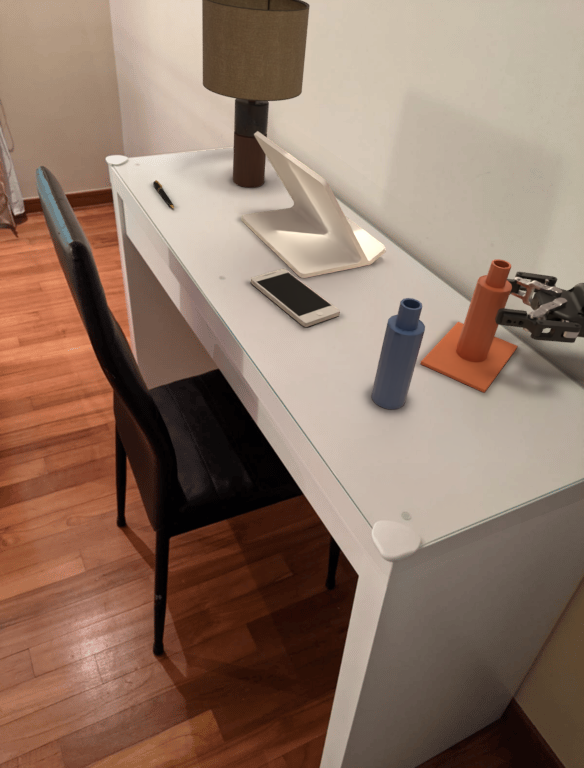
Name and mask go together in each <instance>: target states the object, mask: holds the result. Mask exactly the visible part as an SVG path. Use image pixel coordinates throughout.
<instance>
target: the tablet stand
mask: <svg viewBox="0 0 584 768" xmlns="http://www.w3.org/2000/svg"><path fill="white" fill-rule="evenodd" d="M254 136H255V138H256V139H257V141H258V143H259V144H260V146H261V148H262V149H263V151H264V153H265V154H266V159H268V162H269V163H270V165H271V166H272V168H273V169H274V172H275V173H276V174H277V177H278V178H279V180H280V181H281V183H282V184H283V186H284V188H285V190H286V192H287V193H288V195H289V197H290V198H291V200H292V201H293V205H292V207H287V208H280V209H279V208H278V209H273V210H266V211H259V212H252V213H244V214H241V218H240V219H241V222H242V223H243V224H245V226H246V227H248V229H250V231H252V232H253V233H254V234H255V235H256V236H257V237H258V238H259V239H260V240H261V241H262V242H263V243H264V244H265V245H266V246H267V247H268V248H269V249H271V251H272V252H273V253H274V254H275V255H277V257H278V258H280V259H281V261H283V263H285V264H286V265H287V266H288V267H289V268H290V269H291V270H292V271H293V272H294V273H295V274H296V275H297V276H298V277H300V278H301V279H307V278H312V277H316V276H323V275H327V274H331V273H332V274H333V273H336V272H342V271H346V270H351V269H356V268H360V267H366V266H370V265H372V264H373V263H375V262H376V261H377V260H378V259H379V258H380V257H382V256H383V255H384V254H385V253H386V252H387V249H386V247H385V244H383V243H382V242H380V241H379V240H378V239H377V238H375V237H374V236H373V235H371V234H370V233H369V232H367V230H365V229H364V228H362V227H360V226H359V225H358V224H357V223H356V222H355V221H353V220H352V219H350V218H349V217H347V216H346V215H345V213H344V211H343V209H342V207H341V206H340V204H339V201H338V200H337V198H336V196H335V194H334V192H333V190H332V188H331V187H330V184H329V182H328V181H327V179H325V178H324V177H323V176H321V175H320V174H318V173H317V172H316V171H314V170H313V169H311V168H310V167H308V166H307V165H306V164H304V163H303V162H301V160H299V159H297V158H296V157H295V156H294V155H292V154H291V153H289V152H288V151H286V150H285V149H283V148H282V147H281V146H279V145H278V144H276V142H274V141H272V139H269V138H268V136H267V137H265V136H264V135H262V134H261V133H260V132H258V131H257V132H256V133H255V134H254Z"/></svg>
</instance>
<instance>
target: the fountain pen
mask: <svg viewBox="0 0 584 768" xmlns="http://www.w3.org/2000/svg"><path fill="white" fill-rule="evenodd" d="M152 183H153V187H154V189H155V190H156V191H157V192H158V194H159V195H160V196H161V197H162V199H163V200H164V202H166V203H167V205H168V206H169V207H170V208H171V209H175V206H174V204H173V202H172V200H171V199H170V197H169V195H168V193H166V191H165V190H164V188H163V185H162V184H161V183H160V181H158V180H157V179H155V180H154V181H153V182H152Z"/></svg>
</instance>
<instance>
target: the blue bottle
mask: <svg viewBox="0 0 584 768" xmlns="http://www.w3.org/2000/svg"><path fill="white" fill-rule="evenodd" d="M399 302H400V303H399V307H398V311H397V314H394V315H391V316H390V317H389V318H388V319H387V323H386V327H385V332H384V336H383V341H382V344H381V349H380V355H379V359H378V363H377V368H376V372H375V377H374V382H373V386H372V389H371V399H372V401H373V403H375V405H377V406H378V407H380V408H383V409H387V410H398V409H400V408H402V407H403V406H404V405H405V403H406V400H407V397H408V394H409V391H410V387H411V382H412V379H413V375H414V372H415V368H416V364H417V361H418V356H419V353H420V349H421V345H422V343H423V338H424V335H425V331H426V325H425V323H424V322H423V321H422V320H421V319H420V317H421V315H422V314H421V313H422V310H423V303H422V302H421V301H420V300H418V299H416V298H413V297H405V298H402V299H401V300H400V301H399Z"/></svg>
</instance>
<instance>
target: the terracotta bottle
mask: <svg viewBox="0 0 584 768" xmlns="http://www.w3.org/2000/svg"><path fill="white" fill-rule="evenodd" d="M511 269H512V264H511V263H510V262H509V261H507V260H504V259H499V258H498V259H493V260H491V262H490V265H489V268H488V271H487V274H483V275H480V276H479V277H478V279H477V281H476V284H475V288H474V290H473V293H472V297H471V299H470V303H469V306H468V310H467V312H466V316H465V319H464V322H463V324H464V325H463V328H462V331H461V334H460V337H459V341H458V344H457V348H456V352H457V354H458V355H459V356H460V357H461V358H463V359H465V360H467V361H470V362H482V361H484V360H485V359H486V358H487V355H488V353H489V350H490V347H491V344H492V342H493V339H494V336H495V337H496V334H497V330H498V328H499V325H498V324H496V321H495V317H496V314H497V312H498V310H499V309H500V308H505V309H506V305H507V303H508V300H509V297H510V296H511V294H510V292H511V289H512V285H511V283H509V282H508V281H507V279H509V275H510V272H511Z"/></svg>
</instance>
